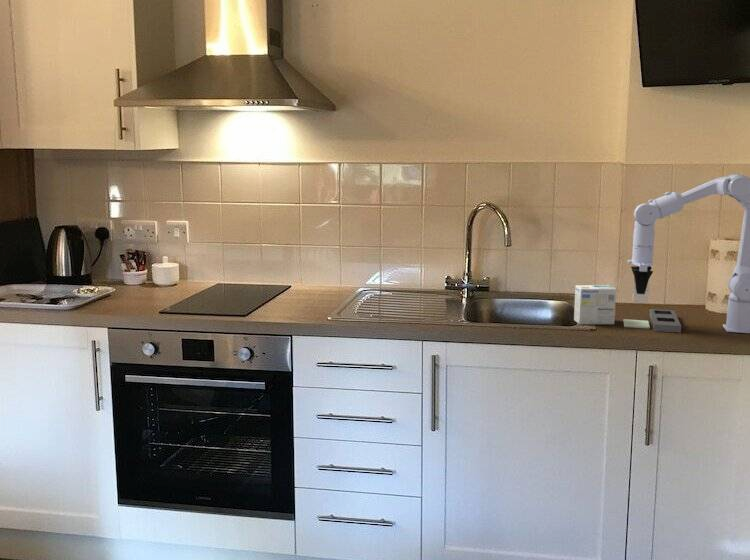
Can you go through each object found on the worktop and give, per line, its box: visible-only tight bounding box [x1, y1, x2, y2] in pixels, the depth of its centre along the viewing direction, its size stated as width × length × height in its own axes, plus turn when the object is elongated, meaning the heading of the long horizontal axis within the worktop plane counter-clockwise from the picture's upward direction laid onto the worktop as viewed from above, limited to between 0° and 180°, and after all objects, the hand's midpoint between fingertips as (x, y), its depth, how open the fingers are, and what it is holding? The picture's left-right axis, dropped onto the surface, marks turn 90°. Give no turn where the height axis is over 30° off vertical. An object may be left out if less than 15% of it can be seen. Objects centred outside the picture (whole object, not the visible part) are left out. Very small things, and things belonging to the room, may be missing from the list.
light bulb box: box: [573, 284, 617, 325], centre depth 235 cm, size 11×7×11 cm, turn 92°
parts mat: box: [622, 318, 651, 329], centre depth 233 cm, size 7×8×1 cm
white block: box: [631, 279, 650, 304], centre depth 231 cm, size 4×4×6 cm
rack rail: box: [648, 308, 682, 334], centre depth 234 cm, size 7×21×2 cm, turn 165°
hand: (640, 292), depth 231 cm, fingers closed on white block, 4 cm apart
